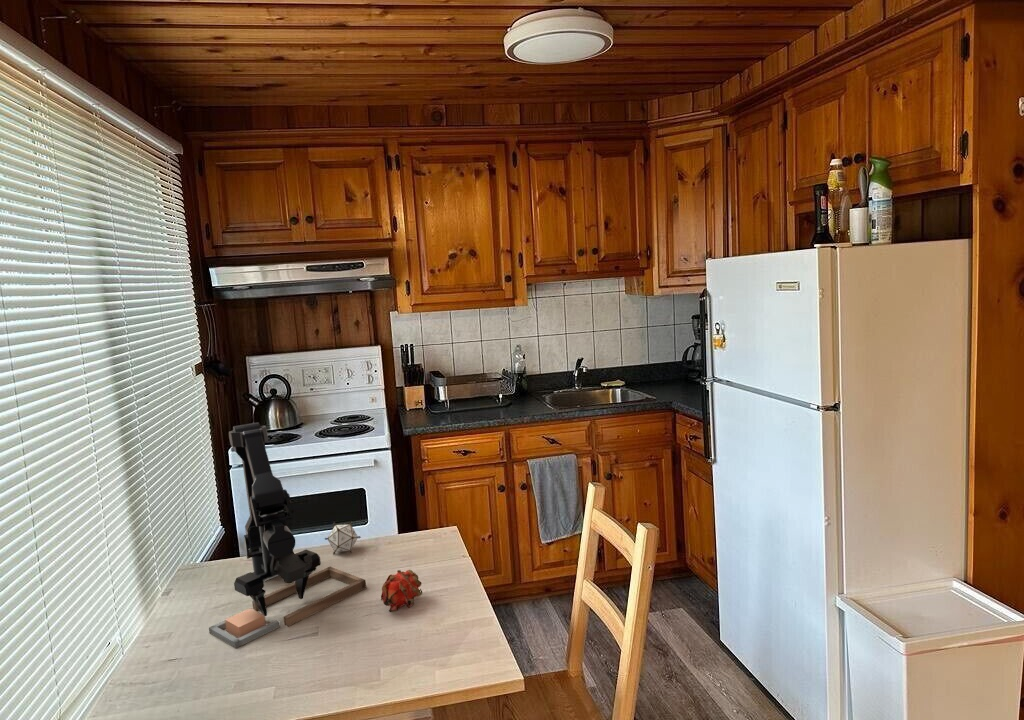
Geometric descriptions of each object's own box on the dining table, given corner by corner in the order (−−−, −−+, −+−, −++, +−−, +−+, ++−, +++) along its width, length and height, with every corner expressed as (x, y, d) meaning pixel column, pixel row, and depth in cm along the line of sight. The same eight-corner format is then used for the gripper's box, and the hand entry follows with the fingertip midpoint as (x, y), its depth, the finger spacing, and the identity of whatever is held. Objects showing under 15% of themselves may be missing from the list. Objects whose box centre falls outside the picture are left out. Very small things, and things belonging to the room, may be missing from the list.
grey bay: (209, 632, 155) (208, 627, 155) (252, 612, 163) (251, 607, 163) (235, 648, 148) (235, 642, 148) (279, 626, 155) (279, 621, 155)
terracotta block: (226, 632, 155) (224, 619, 155) (252, 620, 160) (250, 608, 160) (240, 640, 152) (238, 627, 151) (266, 628, 156) (264, 615, 156)
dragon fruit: (421, 599, 167) (394, 631, 156) (393, 576, 168) (363, 607, 158) (435, 575, 163) (407, 607, 152) (405, 553, 164) (376, 583, 154)
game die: (352, 562, 196) (370, 529, 197) (341, 564, 188) (360, 530, 189) (325, 545, 198) (344, 513, 199) (313, 546, 190) (333, 513, 191)
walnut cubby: (253, 609, 165) (252, 601, 164) (330, 573, 181) (330, 566, 180) (287, 626, 155) (286, 618, 155) (366, 587, 171) (365, 579, 171)
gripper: (255, 565, 148) (264, 635, 150) (330, 534, 162) (338, 599, 164) (228, 554, 155) (238, 621, 158) (303, 525, 169) (310, 587, 171)
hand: (283, 607), depth 162 cm, fingers open, 9 cm apart
